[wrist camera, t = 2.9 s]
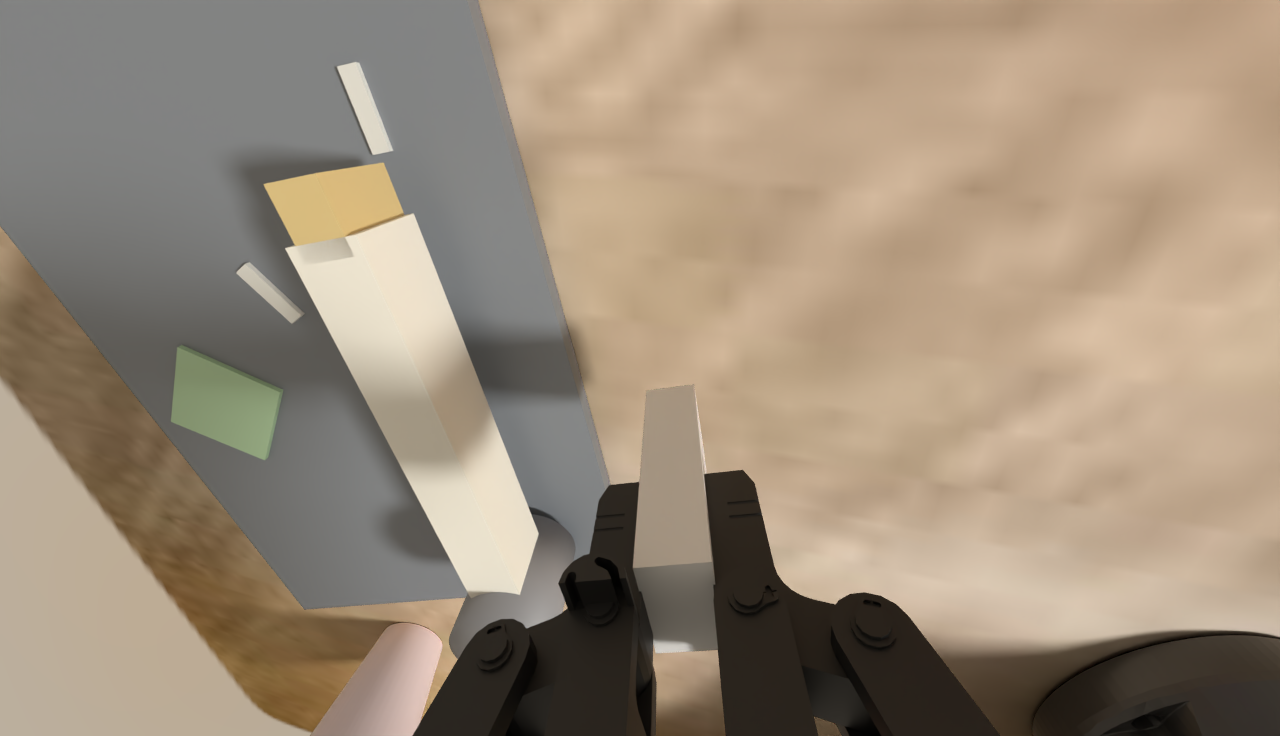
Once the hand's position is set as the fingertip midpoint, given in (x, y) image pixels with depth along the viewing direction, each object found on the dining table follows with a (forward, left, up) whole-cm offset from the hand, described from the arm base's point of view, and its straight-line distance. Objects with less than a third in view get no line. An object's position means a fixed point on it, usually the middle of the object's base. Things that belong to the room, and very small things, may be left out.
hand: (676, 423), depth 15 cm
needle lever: (-1, +8, -3) cm, 9 cm away
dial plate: (+2, +13, -5) cm, 14 cm away
